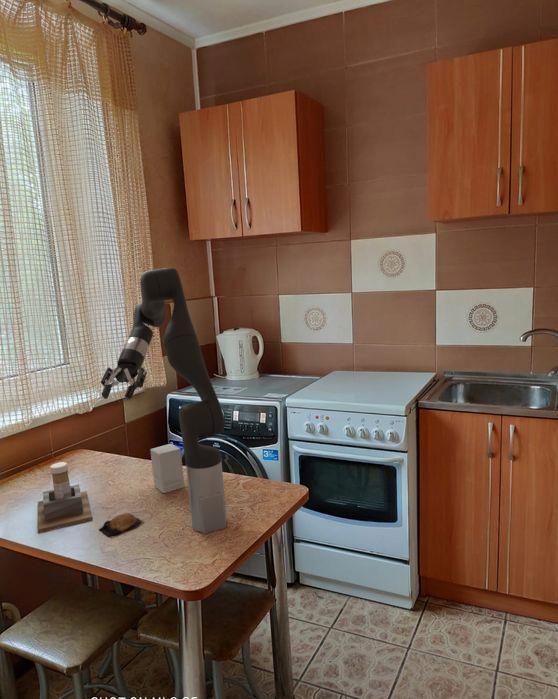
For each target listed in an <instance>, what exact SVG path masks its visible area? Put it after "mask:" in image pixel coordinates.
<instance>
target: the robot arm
mask: <svg viewBox="0 0 558 699" xmlns="http://www.w3.org/2000/svg"><path fill="white" fill-rule="evenodd" d="M139 283H140V294H141V295H140V296H141V300H142V301H139V302H138V303H137V304H136V305H135V308H134V312H133V325H132V328H131V331H130V334H129V336H128V338H127V340H126V341H125V343H124V345H123V348H122V350H121V352H120V354H119V357H118V359H117V365H116V367H115V369H114V368H113V369H112V368H111V367H107V368H106V370H105V372H104V374H103V375H102V378H101V380H100V384H101V385H102V386H104V387H103V388H102V392H101V397H102V398H103V399H105V400H107V399H108V398H109V396H110V393H111V391H112V388H114V387H115V386H118V385H119V384H121V383H129V385H128V386H127V389H126V391H125V394H124V397H125V399H126V400H131V398H133V397H134V393H135V391H136V389H138V388H143V386H144V384H145V380H146V377H147V374H148V371H147V370H146V369H145V368H144V367H143V364H144V361H145V359H146V356H147V354H148V349H149V347H150V344H151V342H152V340H153V336H154V332H153V330H152V328H151V327H153V328H160V327H162V326H163V325H164V324H165V321H166V318H167V311H166V308H165V305H166V302H165V301H173V310H172V314H171V317H170V320H169V321H168V324H167V327H166V330H165V332H164V335H163V342H162V343H163V347H164V351H165V355H166V358H167V361H168V364H169V365H170V366H171V368H172V369H173V370H174V371H175V372H176V373H177V374H178V375H179V376H180V377H181V378H183V379H184V380H185V381H187V382H188V383H189V384H190V385H191V387H193V389H194V390H195V391H196V393H197V394H198V396H199V398H200V401H196V402H192V403H191V402H190V403H186V404H183V405H182V406H180V408H179V411H178V413H179V414H178V421H179V427H180V433H181V434H180V435H181V439H182V440H181V441H182V447H183V455H184V459H185V470H186V479H187V480H186V481H187V490H188V498H189V499H188V500H189V509H190V517H191V527H192V528H193V530H195V531H197V532H201V533H202V534H209V533H212V532H216V531H219V530H222V529H225V528H227V527H226V526H227V524H228V518H227V517H228V516H227V508H226V507H227V506H226V500H225V498H226V496H225V487H224V478H223V477H224V475H223V473H224V472H223V465H222V464H223V463H222V462H223V461H222V454H221V450H220V449H219V448H218V447H215V446H210V445H204V444H201V443H200V442H199V439H203V438H204V439H205V438H208V437H212V436H216V435H220V434H221V433H222V434H223V432H224V430H225V425H226V421H225V416H224V412H223V409H222V407H221V406H222V405H221V404H220V401H219V398H218V395H217V393H216V391H215V388H214V386H213V383H212V381H211V379H210V376H209V373H208V372H209V371H208V370H207V367H206V363H205V359H204V356H203V352H202V348H201V345H200V342H199V339H198V337H197V333H196V331H195V328H194V325H193V322H192V319H191V316H190V312H189V308H188V306H187V305H188V304H187V301H186V297H185V292H184V287H183V284H182V281H181V277H180V275H179V272H178V270H177V269H176V268H175V267H169V266H168V267H164V268H162V267H161V268H156V269H150V270H146V271H144V272H142V274H141V276H140V281H139ZM149 326H150V327H149ZM115 379H116V380H115Z"/></svg>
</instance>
